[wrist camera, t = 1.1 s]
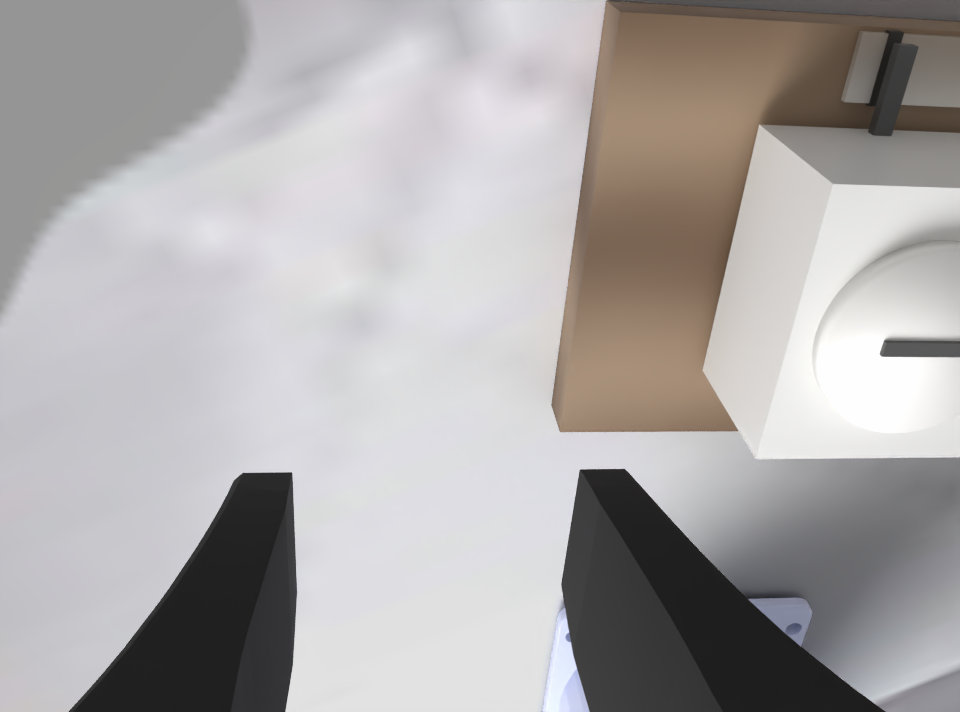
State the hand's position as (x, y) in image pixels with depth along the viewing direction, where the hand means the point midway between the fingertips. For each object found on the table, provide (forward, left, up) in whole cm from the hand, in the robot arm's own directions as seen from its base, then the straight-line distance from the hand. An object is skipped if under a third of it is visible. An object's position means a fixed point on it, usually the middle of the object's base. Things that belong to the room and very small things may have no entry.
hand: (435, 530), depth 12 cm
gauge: (+1, -11, -9) cm, 14 cm away
